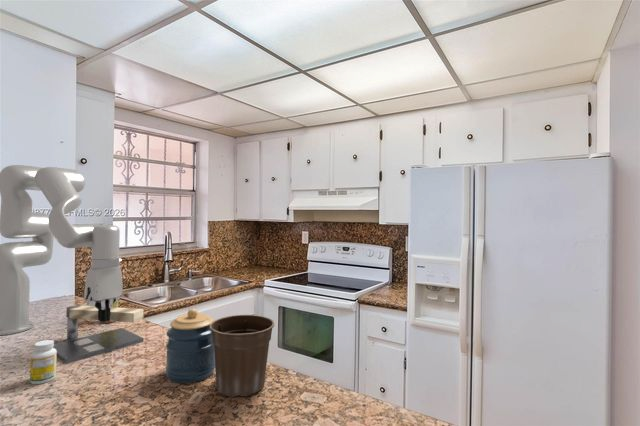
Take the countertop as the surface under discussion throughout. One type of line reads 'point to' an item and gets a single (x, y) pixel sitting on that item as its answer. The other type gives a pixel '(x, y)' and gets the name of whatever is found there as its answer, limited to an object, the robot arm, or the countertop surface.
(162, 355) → the countertop surface
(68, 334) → the label board
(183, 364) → the canister
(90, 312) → the swing arm
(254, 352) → the plant pot
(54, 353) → the supplement bottle
